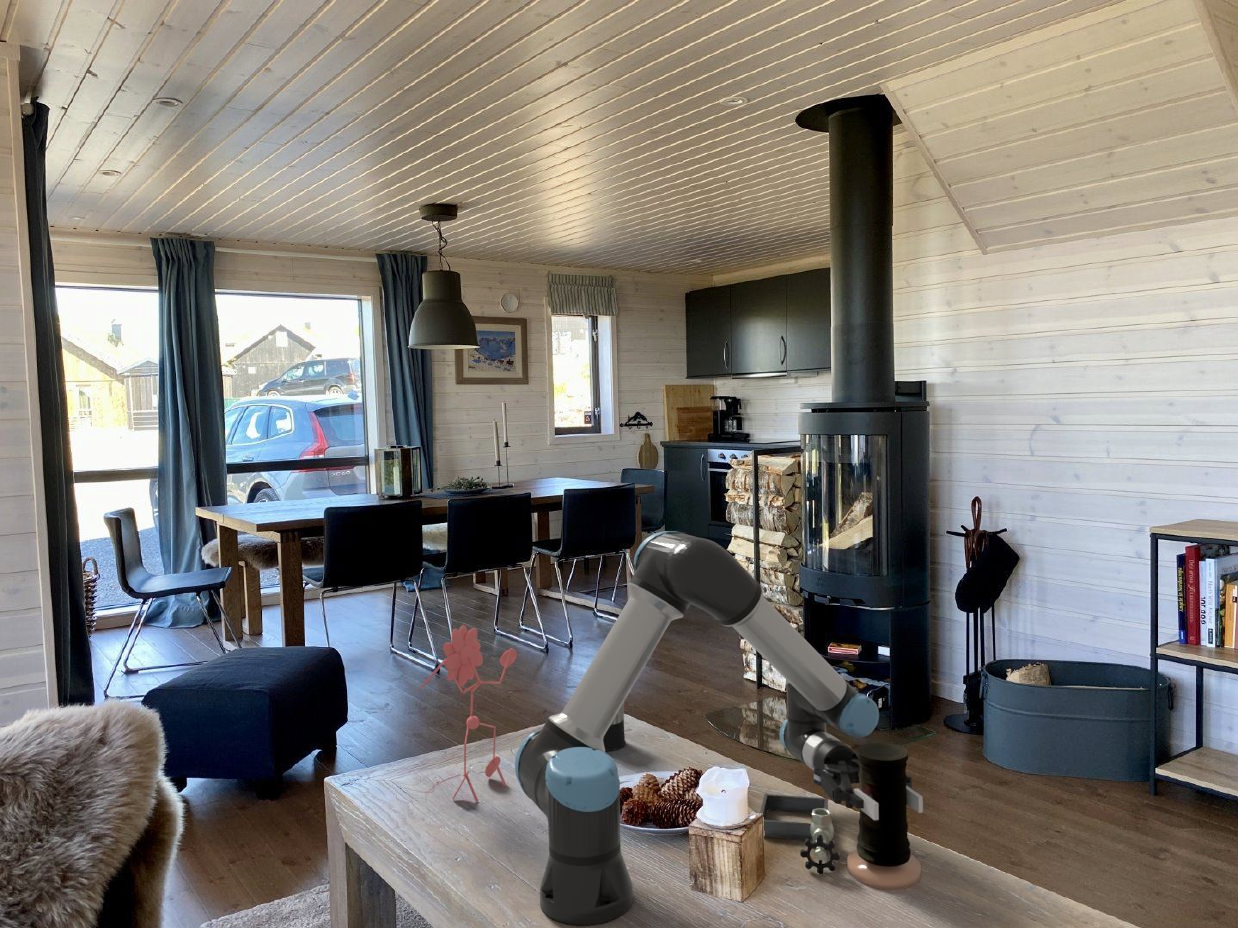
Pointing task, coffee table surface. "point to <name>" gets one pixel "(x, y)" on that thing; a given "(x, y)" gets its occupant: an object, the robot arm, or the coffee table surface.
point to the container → (884, 805)
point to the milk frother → (615, 732)
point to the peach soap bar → (884, 873)
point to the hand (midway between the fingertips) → (898, 808)
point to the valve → (820, 841)
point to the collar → (789, 805)
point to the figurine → (462, 664)
